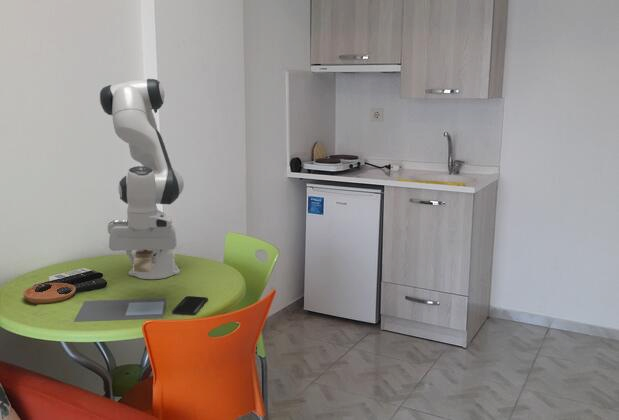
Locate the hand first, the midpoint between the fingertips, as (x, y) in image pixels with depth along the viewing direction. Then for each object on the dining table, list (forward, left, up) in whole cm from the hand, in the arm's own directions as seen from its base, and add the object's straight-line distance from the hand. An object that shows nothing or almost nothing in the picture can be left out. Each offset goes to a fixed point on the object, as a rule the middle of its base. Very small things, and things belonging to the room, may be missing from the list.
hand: (143, 263), depth 191 cm
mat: (0, -7, -16) cm, 17 cm away
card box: (0, 0, -2) cm, 2 cm away
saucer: (-15, -32, -16) cm, 39 cm away
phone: (-2, +14, -16) cm, 22 cm away
